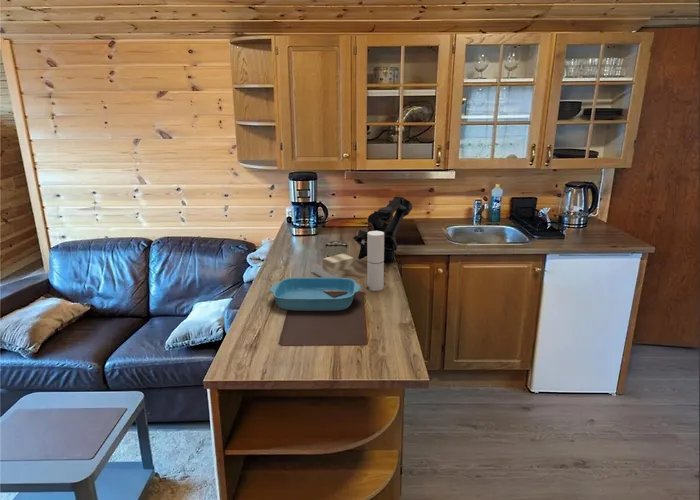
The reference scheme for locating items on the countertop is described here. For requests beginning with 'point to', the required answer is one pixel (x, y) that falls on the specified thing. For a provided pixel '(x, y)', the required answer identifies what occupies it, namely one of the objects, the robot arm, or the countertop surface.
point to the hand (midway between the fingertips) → (358, 258)
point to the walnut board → (357, 270)
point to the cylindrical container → (375, 260)
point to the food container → (336, 248)
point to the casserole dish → (314, 293)
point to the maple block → (340, 264)
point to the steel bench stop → (323, 271)
